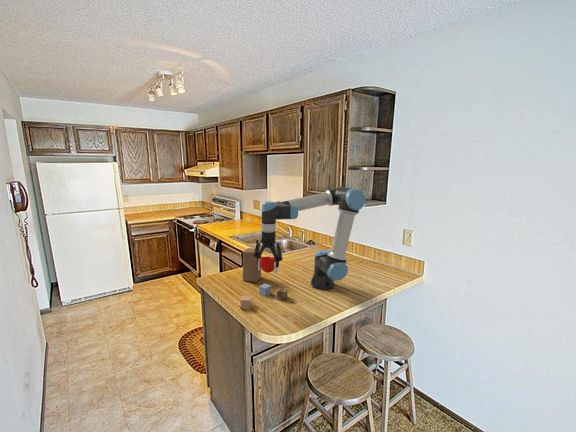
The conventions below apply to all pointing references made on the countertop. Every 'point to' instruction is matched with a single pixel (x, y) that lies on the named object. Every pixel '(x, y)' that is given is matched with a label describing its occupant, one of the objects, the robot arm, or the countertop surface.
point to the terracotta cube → (246, 302)
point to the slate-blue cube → (265, 289)
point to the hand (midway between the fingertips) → (267, 271)
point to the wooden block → (250, 266)
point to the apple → (267, 263)
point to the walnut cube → (282, 293)
